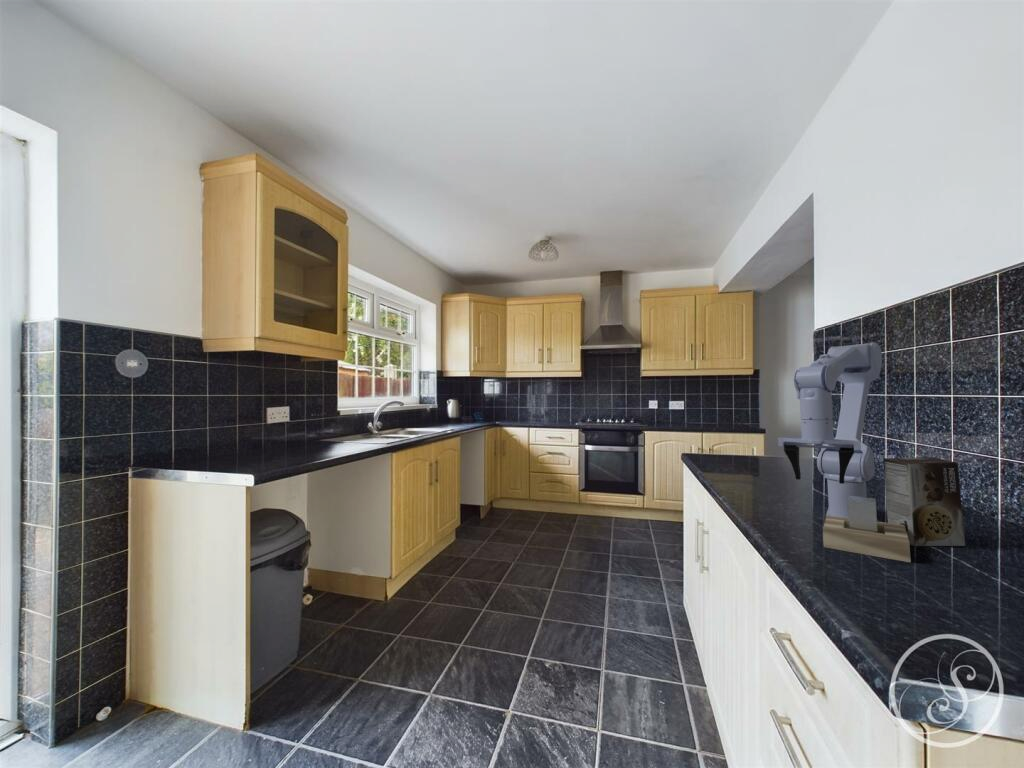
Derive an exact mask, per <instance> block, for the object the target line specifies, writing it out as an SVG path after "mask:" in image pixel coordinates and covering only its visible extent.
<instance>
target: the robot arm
mask: <svg viewBox="0 0 1024 768" xmlns="http://www.w3.org/2000/svg"><path fill="white" fill-rule="evenodd" d="M882 362H883V355H882V349H881V347H880V345H879V343H878V342H876V341H873V342H868V343H859V344H851V345H841V346H830V347H829V348H828V350H827V353H826V354H820V355H819V358H818V359H816V360H813V362H812V363H811V364H810V365H808V366H802V367H799V368H798V369H796V370H795V371H794V375H793V385H794V388H795V390H796V397H797V399H798V400H799V410H800V413H799V414H800V429H801V432H800V433H801V437H778V438H777V442H778V444H777V445H778V447H783V451H784V453H785V455H786V456H787V458H788V460H789V462H790V464H791V466H792V470H793V472H794V477H795V480H801V479H802V478H801V476H802V474H801V468H800V467H801V466H800V448H808V449H810V448H811V449H820V451H819V453H818V455H817V458H816V465H817V470H818V471H819V473H820V474H821V475H823V478H824V479H826V481H827V482H826V483H827V498H828V499H827V500H828V508H827V511H826V513H825V517H826V516H827V515H831V516H839V517H846V518H849V510H848V497H849V496H857V497H866V498H868V496H867V482H868V481H870V480H872V478H874V477H875V476H874V475H875V471H876V470H875V469H876V467H875V453H874V451H873V449H872V448H871V447H870V446H869V445H867V444H865V443H864V442H862V437H863V429H864V425H865V423H864V422H865V416H866V411H867V410H866V409H867V404H868V403H867V402H868V397H869V391H870V388H871V387H870V386H871V384H872V382H874V381H875V380H877V379H879V378H880V374H881V372H882V371H881V370H882ZM837 382H839V383H842V384H843V385H844V387H843V394H842V400H841V405H840V410H839V411H840V412H839V417H838V421H837V428H836V433H835V437H834V421H833V418H834V417H833V403H832V401H833V400H832V399H833V398H832V397H833V396H832V391H834V390H835V389H836V384H837Z"/></svg>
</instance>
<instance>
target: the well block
mask: <svg viewBox="0 0 1024 768" xmlns="http://www.w3.org/2000/svg"><path fill="white" fill-rule="evenodd" d="M877 528H878V533H874V532H867V531H861V530H854V529H850V527H849V518H846V517H839V516H831V515H827V516H826V515H825V520H824V524H823V526H822V541H823V542H822V543H823V548H825V549H826V548H827V549H832V550H838V551H844V552H848V553H849V552H850V553H855V554H860V555H866V556H871V557H878V558H883V559H884V558H885V559H888V560H894V561H901V562H906V563H912V562H911V561H912V559H911V550H910V549H911V547H910V546H911V544H909V539H908V536H907V533H906V529H905V526H904V525H899V524H891V523H888V522H881V521H877Z"/></svg>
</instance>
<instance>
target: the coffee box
mask: <svg viewBox="0 0 1024 768" xmlns="http://www.w3.org/2000/svg"><path fill="white" fill-rule="evenodd" d="M883 472H884V483H885V484H884V485H885V486H884V487H885V499H886V501H885V502H886V513H887V515H886V516H887V523H891V524H899V525H904V526H905V529H906V533H907V536H908V539H909V544H910V546H913V547H965V546H966V541H965V540H966V539H965V531H964V519H963V504H962V494H961V483H960V473H959V463H958V461H950V460H946V459H942V458H934V457H894V458H892V457H891V458H887V457H886V458H885V457H884V458H883Z"/></svg>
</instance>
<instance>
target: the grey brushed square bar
mask: <svg viewBox="0 0 1024 768" xmlns="http://www.w3.org/2000/svg"><path fill="white" fill-rule="evenodd" d="M848 510H849V527H850V529H854V530H861V531H867V532H874V533H878V528H877V522H878V518H877V517H878V515H877V500H876V498H873V497H867V498H866V497H857V496H849V497H848Z"/></svg>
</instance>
